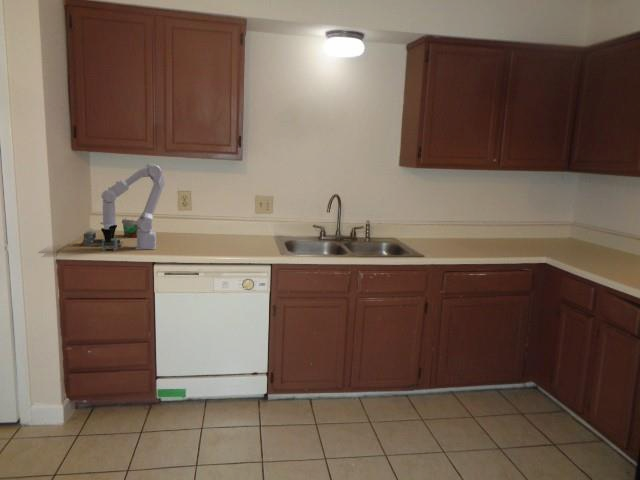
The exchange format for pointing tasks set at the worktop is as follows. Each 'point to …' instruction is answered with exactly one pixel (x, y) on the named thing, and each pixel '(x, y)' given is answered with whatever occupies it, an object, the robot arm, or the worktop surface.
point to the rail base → (95, 240)
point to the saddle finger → (110, 244)
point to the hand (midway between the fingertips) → (109, 240)
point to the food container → (130, 228)
